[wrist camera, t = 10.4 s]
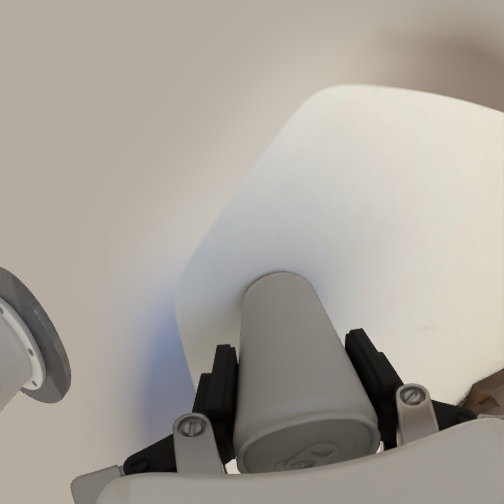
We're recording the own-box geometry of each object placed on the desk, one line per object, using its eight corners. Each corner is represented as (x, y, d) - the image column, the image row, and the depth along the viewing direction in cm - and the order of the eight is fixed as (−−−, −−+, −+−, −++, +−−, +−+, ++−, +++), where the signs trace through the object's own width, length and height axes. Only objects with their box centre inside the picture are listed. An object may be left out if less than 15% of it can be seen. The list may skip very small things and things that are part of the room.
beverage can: (228, 310, 18) (202, 469, 7) (272, 253, 17) (307, 390, 6) (285, 345, 19) (311, 498, 7) (330, 294, 18) (411, 433, 6)
